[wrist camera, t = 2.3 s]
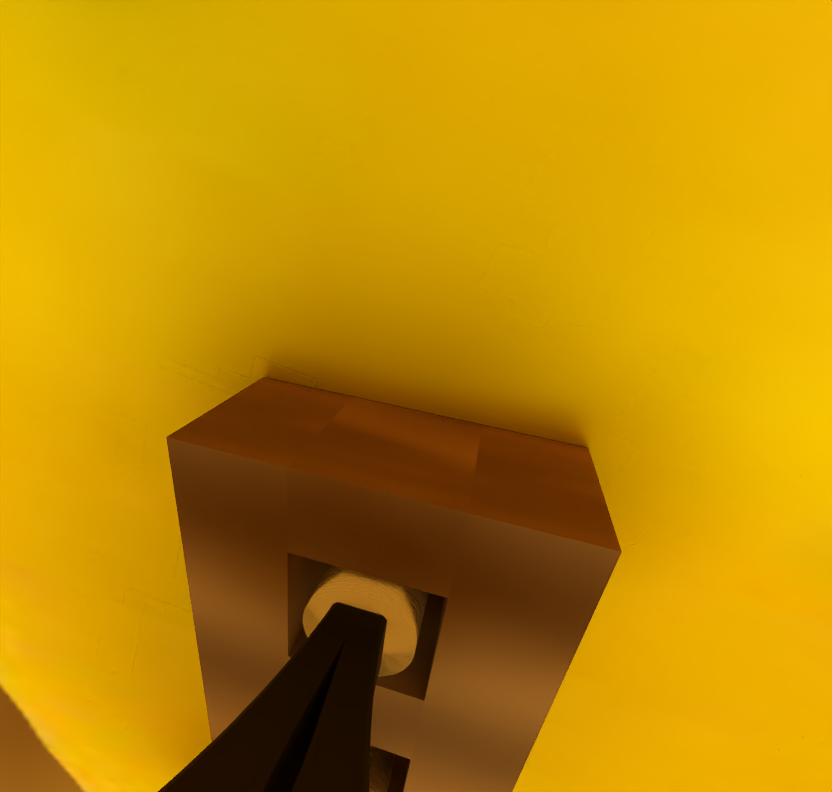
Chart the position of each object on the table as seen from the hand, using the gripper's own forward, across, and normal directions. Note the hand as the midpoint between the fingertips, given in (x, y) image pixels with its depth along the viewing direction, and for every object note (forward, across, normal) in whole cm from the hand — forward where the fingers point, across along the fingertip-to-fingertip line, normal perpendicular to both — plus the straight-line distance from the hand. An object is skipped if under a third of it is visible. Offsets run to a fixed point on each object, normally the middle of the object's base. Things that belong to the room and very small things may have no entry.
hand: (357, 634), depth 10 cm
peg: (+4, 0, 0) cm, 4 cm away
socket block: (+4, 0, +4) cm, 5 cm away
